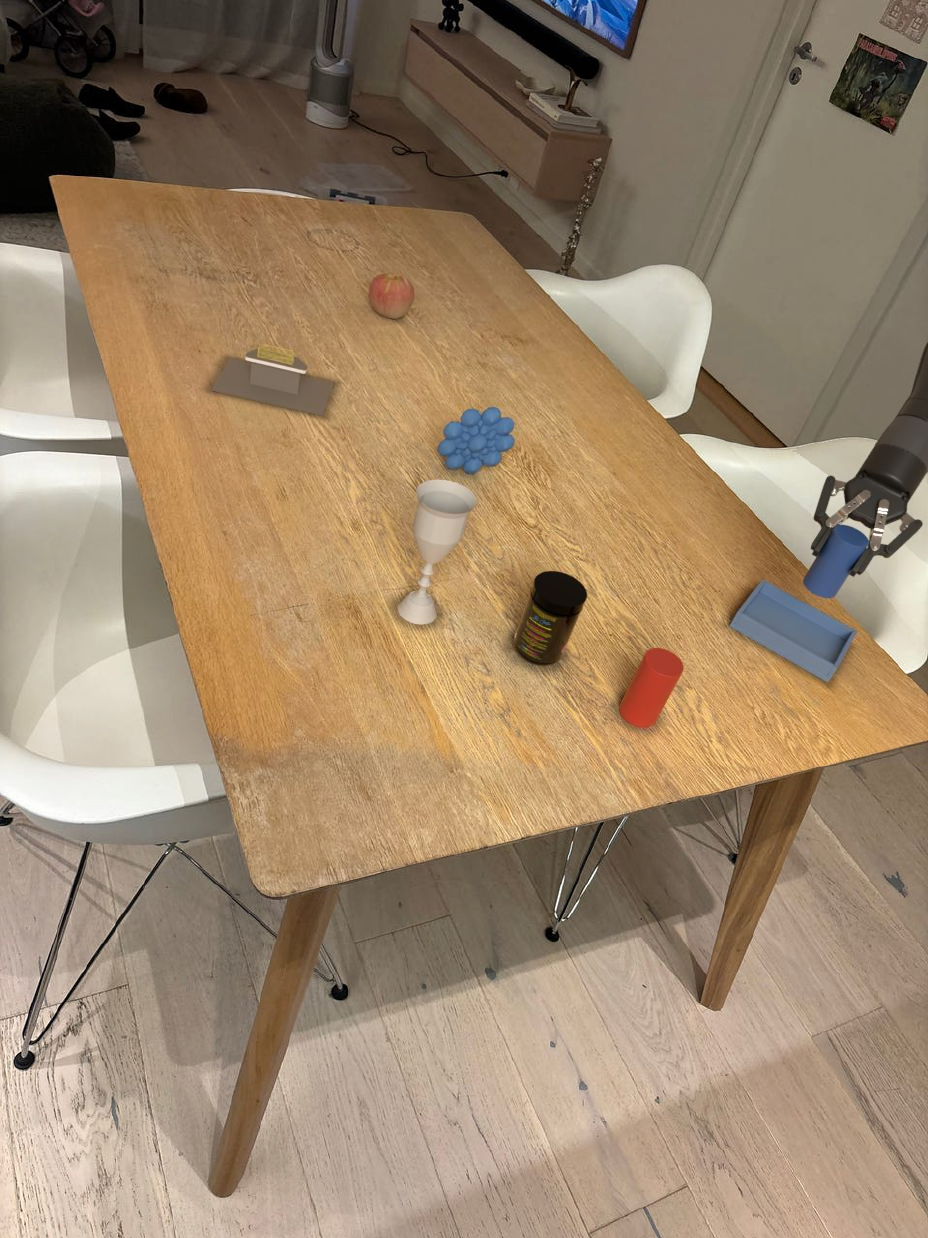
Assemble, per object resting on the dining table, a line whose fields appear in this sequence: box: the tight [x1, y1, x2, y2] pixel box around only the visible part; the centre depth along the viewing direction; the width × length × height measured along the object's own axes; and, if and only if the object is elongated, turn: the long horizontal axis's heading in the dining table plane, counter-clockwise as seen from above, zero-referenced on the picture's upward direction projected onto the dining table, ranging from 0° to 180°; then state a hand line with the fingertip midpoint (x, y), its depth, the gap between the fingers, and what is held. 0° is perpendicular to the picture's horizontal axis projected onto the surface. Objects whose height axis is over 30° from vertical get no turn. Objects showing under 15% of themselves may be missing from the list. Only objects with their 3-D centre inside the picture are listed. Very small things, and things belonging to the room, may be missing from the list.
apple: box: [368, 272, 415, 320], centre depth 181 cm, size 9×9×8 cm
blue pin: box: [802, 524, 869, 599], centre depth 124 cm, size 5×5×9 cm
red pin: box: [618, 647, 685, 729], centre depth 110 cm, size 5×5×9 cm
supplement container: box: [512, 570, 588, 667], centre depth 114 cm, size 7×7×10 cm
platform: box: [210, 343, 335, 417], centre depth 150 cm, size 12×18×7 cm, turn 87°
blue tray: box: [729, 578, 858, 684], centre depth 132 cm, size 15×11×3 cm
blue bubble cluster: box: [437, 406, 515, 475], centre depth 143 cm, size 12×7×12 cm, turn 95°
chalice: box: [397, 479, 478, 625], centre depth 112 cm, size 7×7×18 cm
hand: (833, 563), depth 122 cm, fingers closed on blue pin, 4 cm apart
